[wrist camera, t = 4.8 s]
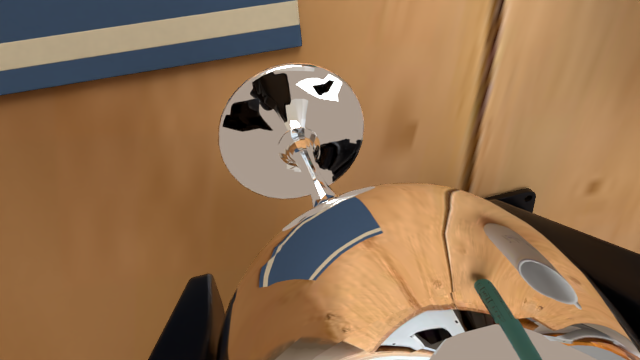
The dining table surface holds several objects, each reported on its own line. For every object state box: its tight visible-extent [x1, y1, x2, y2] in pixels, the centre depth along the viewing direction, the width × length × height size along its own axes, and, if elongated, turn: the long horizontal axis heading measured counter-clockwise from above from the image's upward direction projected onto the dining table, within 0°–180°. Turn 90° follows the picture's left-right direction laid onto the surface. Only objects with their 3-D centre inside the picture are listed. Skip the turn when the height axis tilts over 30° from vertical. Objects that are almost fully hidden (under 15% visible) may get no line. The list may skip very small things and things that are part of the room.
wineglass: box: [216, 63, 640, 360], centre depth 9 cm, size 6×6×12 cm
